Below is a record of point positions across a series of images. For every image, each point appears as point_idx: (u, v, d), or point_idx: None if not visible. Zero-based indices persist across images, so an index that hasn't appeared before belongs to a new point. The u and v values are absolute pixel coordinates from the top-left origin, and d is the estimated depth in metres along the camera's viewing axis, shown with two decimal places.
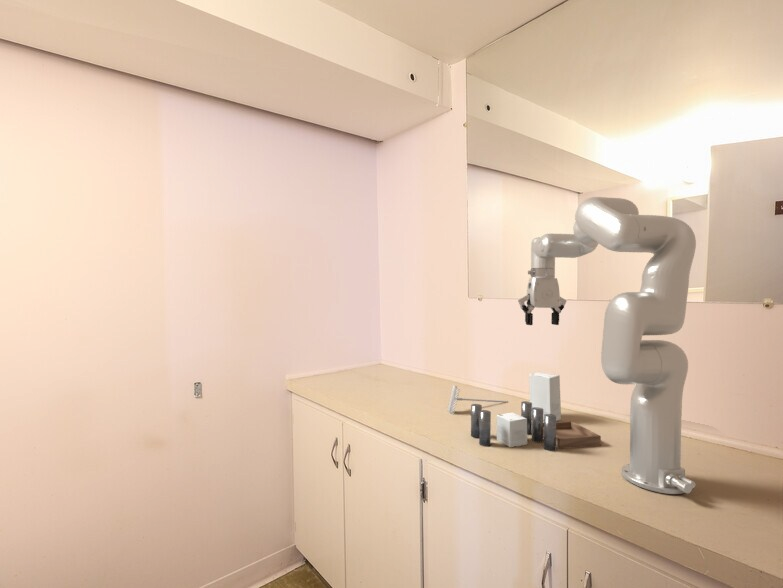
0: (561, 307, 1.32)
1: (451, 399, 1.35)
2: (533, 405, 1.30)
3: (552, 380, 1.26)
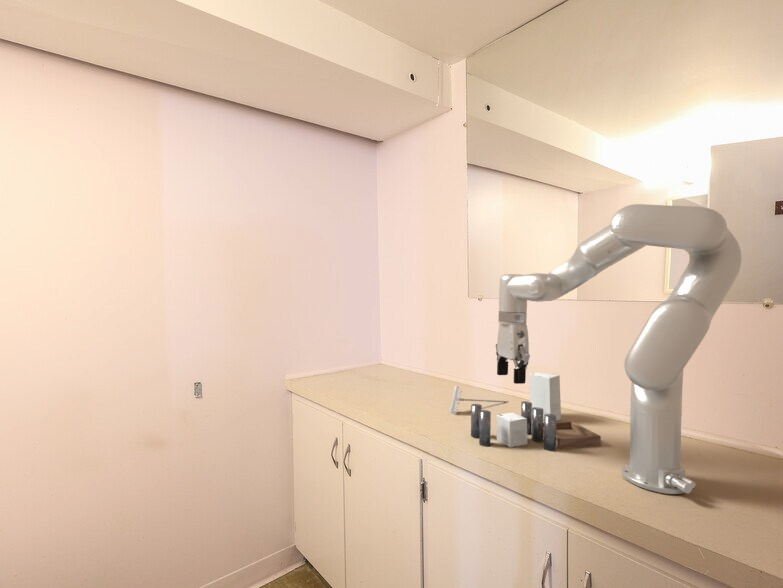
0: None
1: (453, 399, 1.35)
2: (533, 405, 1.30)
3: (552, 380, 1.26)
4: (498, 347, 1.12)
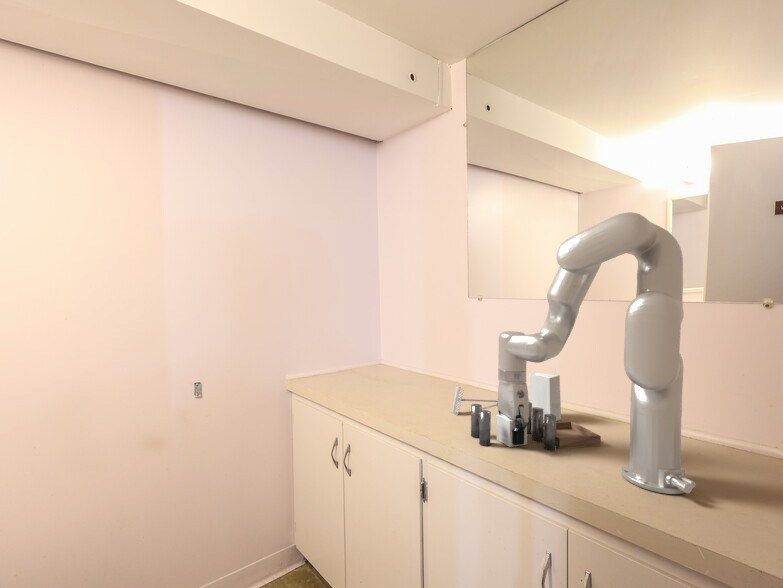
0: None
1: (455, 400, 1.34)
2: (533, 405, 1.30)
3: (552, 380, 1.26)
4: (498, 403, 1.12)
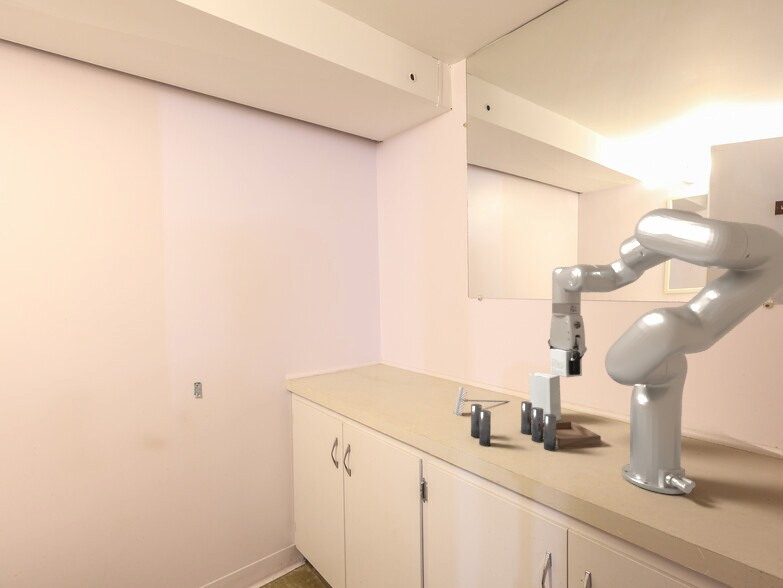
0: None
1: (458, 401, 1.34)
2: (533, 405, 1.30)
3: (552, 380, 1.26)
4: (551, 339, 1.15)
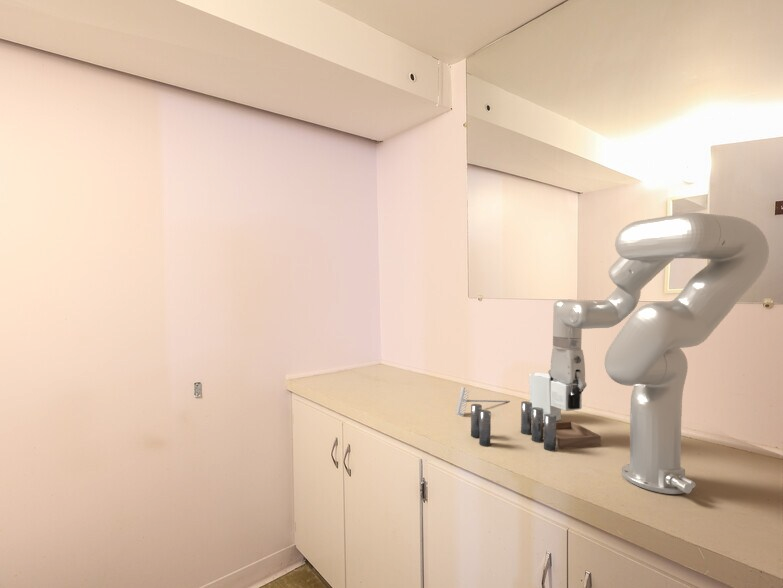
0: None
1: (460, 401, 1.33)
2: (533, 405, 1.30)
3: None
4: (552, 370, 1.15)
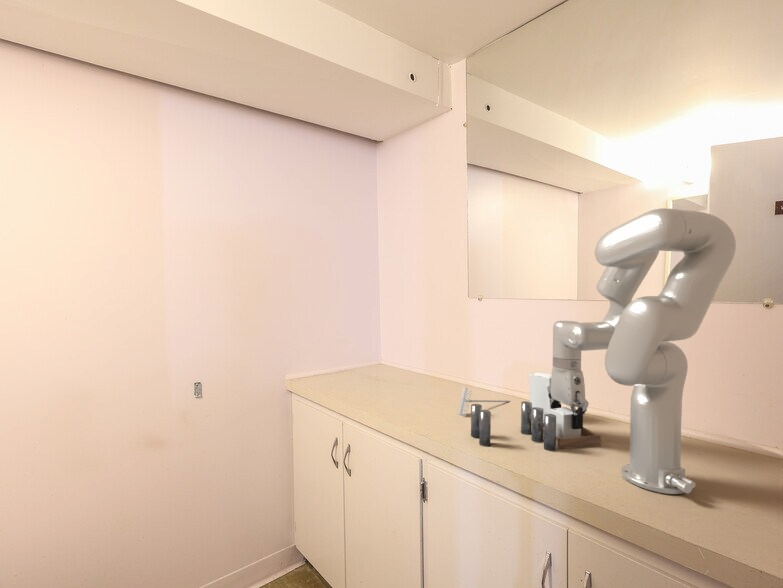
0: None
1: (462, 401, 1.33)
2: (533, 405, 1.30)
3: None
4: (552, 391, 1.15)
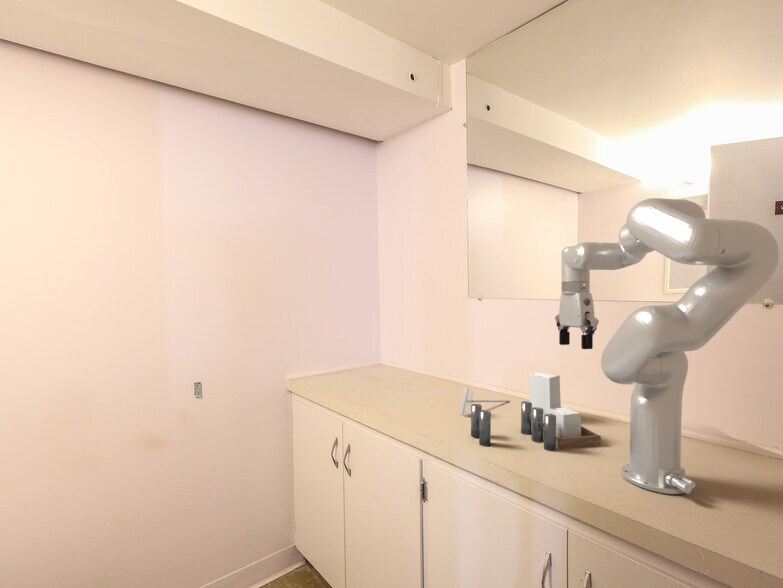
0: None
1: (463, 402, 1.32)
2: (533, 405, 1.30)
3: (552, 380, 1.26)
4: (561, 317, 1.17)
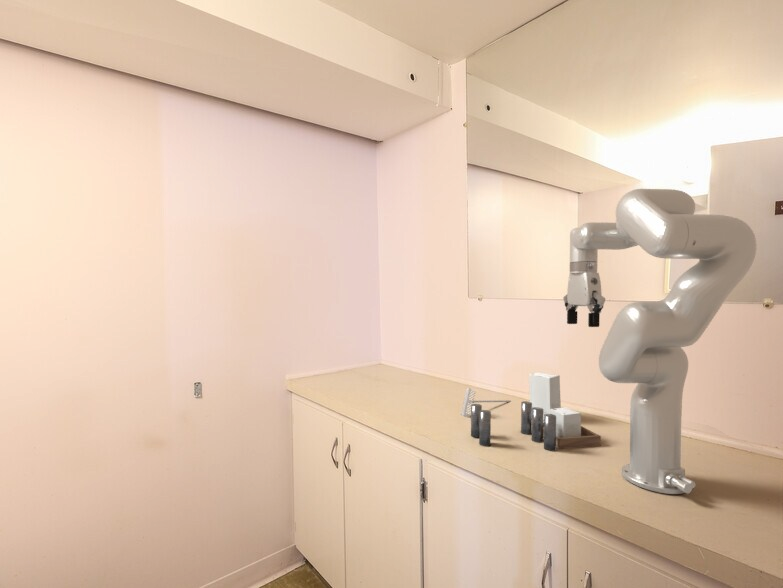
0: None
1: (465, 402, 1.32)
2: (533, 405, 1.30)
3: (552, 380, 1.26)
4: (569, 297, 1.21)
